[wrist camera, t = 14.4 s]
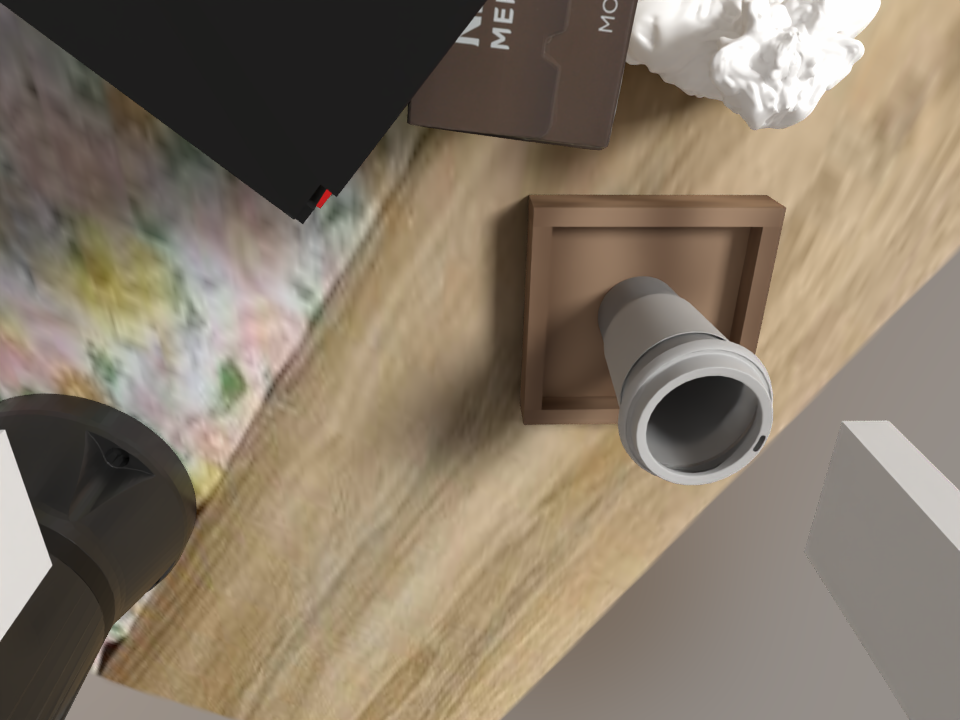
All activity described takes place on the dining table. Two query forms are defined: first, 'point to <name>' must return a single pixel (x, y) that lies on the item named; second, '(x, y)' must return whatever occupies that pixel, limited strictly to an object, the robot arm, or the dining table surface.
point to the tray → (626, 254)
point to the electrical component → (264, 76)
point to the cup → (681, 386)
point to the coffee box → (532, 73)
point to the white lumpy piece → (752, 51)
